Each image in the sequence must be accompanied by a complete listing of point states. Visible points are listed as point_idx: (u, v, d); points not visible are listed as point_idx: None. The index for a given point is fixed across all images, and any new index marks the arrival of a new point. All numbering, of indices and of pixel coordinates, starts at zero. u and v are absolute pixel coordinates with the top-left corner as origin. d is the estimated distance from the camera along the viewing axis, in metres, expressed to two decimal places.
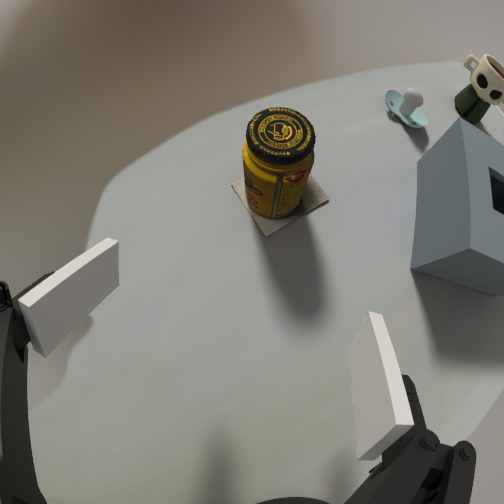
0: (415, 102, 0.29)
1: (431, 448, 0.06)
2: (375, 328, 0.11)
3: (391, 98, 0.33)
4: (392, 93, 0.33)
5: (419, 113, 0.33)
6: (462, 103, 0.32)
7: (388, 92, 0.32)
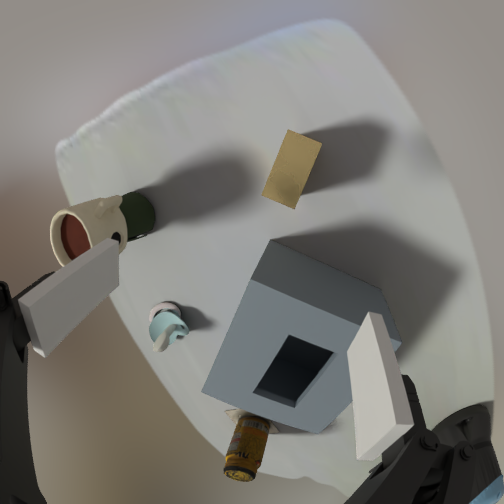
0: (167, 346, 0.36)
1: (431, 448, 0.06)
2: (375, 328, 0.11)
3: (159, 336, 0.40)
4: (153, 334, 0.40)
5: (168, 314, 0.38)
6: None
7: (154, 340, 0.40)
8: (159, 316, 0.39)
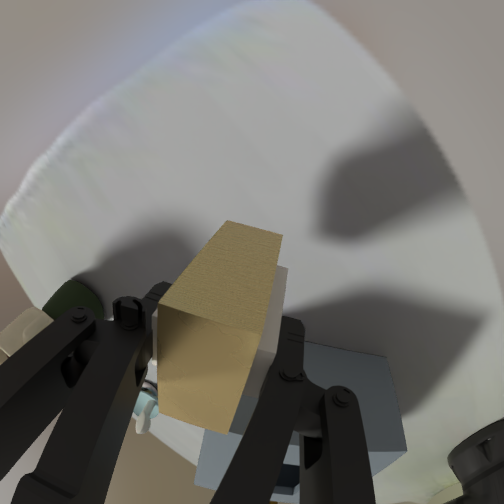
0: (149, 427, 0.29)
1: (296, 379, 0.08)
2: None
3: (142, 410, 0.33)
4: (135, 409, 0.33)
5: (143, 392, 0.31)
6: None
7: (137, 414, 0.33)
8: None
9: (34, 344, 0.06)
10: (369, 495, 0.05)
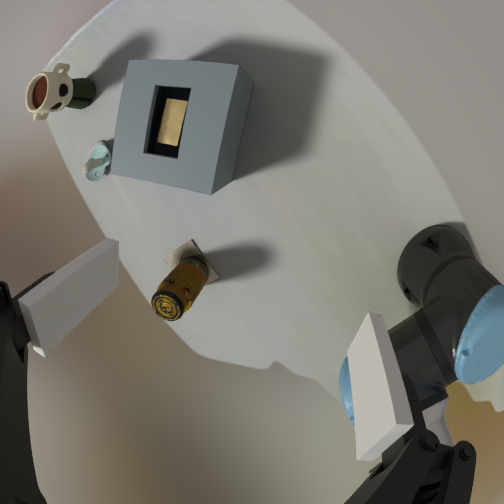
0: (92, 166, 0.41)
1: (431, 448, 0.06)
2: (375, 328, 0.11)
3: (92, 174, 0.45)
4: (88, 173, 0.45)
5: (97, 148, 0.43)
6: (80, 106, 0.39)
7: (88, 177, 0.45)
8: (92, 155, 0.44)
9: None
10: None
